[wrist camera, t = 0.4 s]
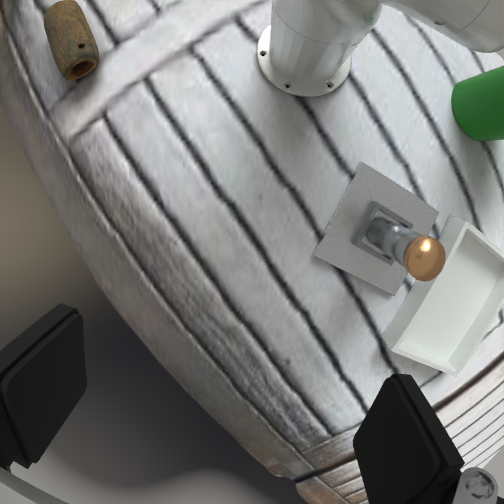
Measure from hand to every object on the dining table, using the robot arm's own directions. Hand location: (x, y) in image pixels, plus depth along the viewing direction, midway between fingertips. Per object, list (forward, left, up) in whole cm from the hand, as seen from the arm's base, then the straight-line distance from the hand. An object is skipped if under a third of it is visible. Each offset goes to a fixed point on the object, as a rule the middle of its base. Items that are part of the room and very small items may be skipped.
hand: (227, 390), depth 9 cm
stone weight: (-14, -37, -35) cm, 52 cm away
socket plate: (-6, +16, -34) cm, 39 cm away
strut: (-6, +16, -33) cm, 38 cm away
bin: (-3, +34, -34) cm, 49 cm away
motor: (-31, +23, -35) cm, 52 cm away
